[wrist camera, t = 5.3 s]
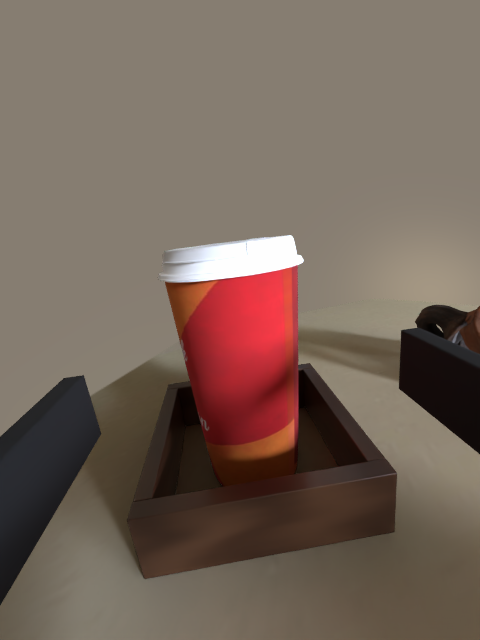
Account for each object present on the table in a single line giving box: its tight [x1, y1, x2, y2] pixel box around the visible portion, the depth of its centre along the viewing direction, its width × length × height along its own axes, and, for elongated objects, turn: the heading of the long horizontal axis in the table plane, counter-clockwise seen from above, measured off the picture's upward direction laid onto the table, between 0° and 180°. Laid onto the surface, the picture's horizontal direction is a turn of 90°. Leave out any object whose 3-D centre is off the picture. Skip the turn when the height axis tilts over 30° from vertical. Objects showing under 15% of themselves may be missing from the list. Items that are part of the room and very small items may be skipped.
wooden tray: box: [127, 363, 397, 579], centre depth 18 cm, size 12×12×4 cm
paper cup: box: [158, 235, 303, 486], centre depth 17 cm, size 8×8×14 cm
